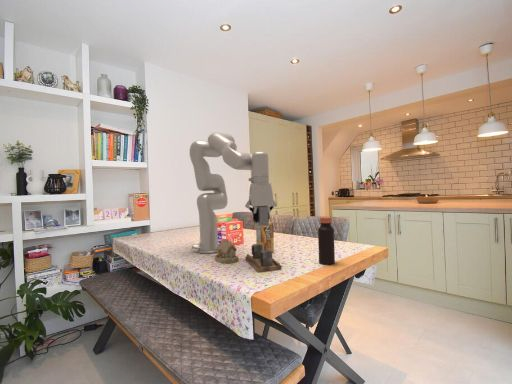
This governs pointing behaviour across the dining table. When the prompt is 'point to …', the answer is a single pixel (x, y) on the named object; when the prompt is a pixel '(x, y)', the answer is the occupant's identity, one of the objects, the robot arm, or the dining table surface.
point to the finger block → (262, 215)
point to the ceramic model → (226, 252)
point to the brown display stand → (262, 259)
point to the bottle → (326, 241)
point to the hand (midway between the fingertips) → (261, 221)
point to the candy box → (265, 236)
